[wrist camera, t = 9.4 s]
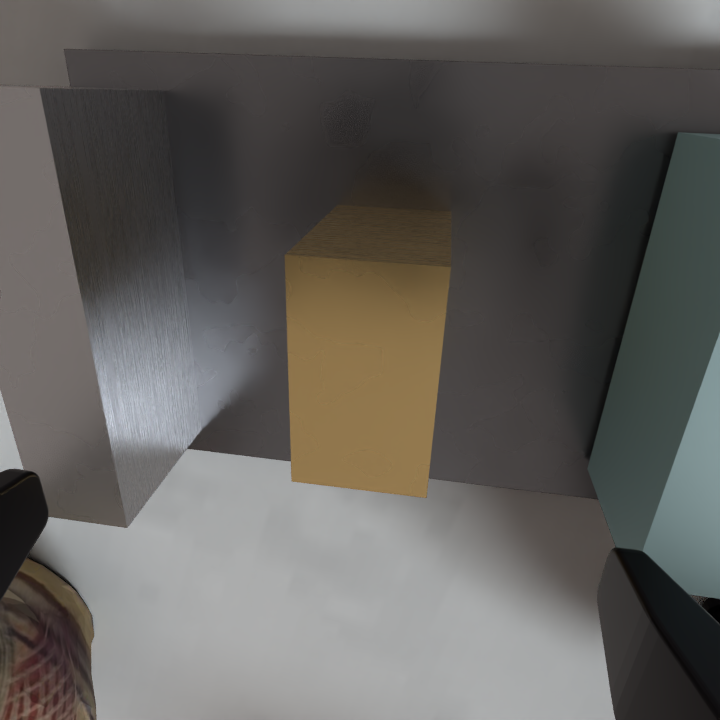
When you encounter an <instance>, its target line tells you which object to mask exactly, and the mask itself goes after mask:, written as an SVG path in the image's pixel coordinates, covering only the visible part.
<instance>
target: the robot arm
mask: <svg viewBox="0 0 720 720" xmlns="http://www.w3.org/2000/svg"><path fill="white" fill-rule="evenodd" d="M48 516H49V509H48V505H47V502H46V498H45V494H44V491H43V487H42V484H41V480H40V478H39V476H38V475H37V474H36V473H35V472H33V471H27V470H20V469H8V470H5V471H3V472H0V601H1V600H2V598H3V597H4V595H5V593H6V592H7V590H8V588H9V587H10V585H11V583H12V581H13V580H14V578H15V576H16V575H17V573H18V571H19V570H20V568H21V566H22V565H23V563H24V561H25V560H26V558H27V556H28V554H29V553H30V551H31V549H32V548H33V546H34V544H35V543H36V541H37V539H38V538H39V536H40V534H41V533H42V531H43V529H44V527H45V525H46V523H47V520H48ZM597 601H598V610H599V616H600V623H601V630H602V637H603V644H604V650H605V657H606V664H607V671H608V678H609V685H610V691H611V698H612V704H613V710H614V715H615V719H616V720H720V599H717V598H709V599H707V600H705V602H704V603H703V605H702V606H701V605H700V604H698V603H697V602H696V601H695V600H694V599H693V598H692V597H691V596H690V595H689V594H688V593H687V592H686V591H685V590H684V589H683V588H682V587H681V586H680V585H679V584H678V583H677V582H676V581H675V580H673V579H672V578H671V577H670V576H669V575H668V574H667V573H666V572H665V571H664V570H663V569H662V568H661V567H660V566H659V565H658V564H657V563H656V562H655V561H654V560H653V559H652V558H651V557H649V556H648V555H647V554H646V553H645V552H643V551H640V550H635V549H627V548H620V547H616V548H613V549H612V550H611V551H610V553H609V555H608V558H607V561H606V564H605V568H604V571H603V574H602V577H601V580H600V583H599V587H598V594H597Z"/></svg>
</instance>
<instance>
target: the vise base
mask: <svg viewBox="0 0 720 720" xmlns="http://www.w3.org/2000/svg"><path fill="white" fill-rule="evenodd" d="M64 52H65V58H66V63H67V69H68V75H69V80H70V86H71V87H61V86H21V85H0V390H1V393H2V397H3V400H4V403H5V407H6V410H7V414H8V417H9V421H10V424H11V428H12V431H13V434H14V438H15V441H16V445H17V448H18V452H19V455H20V458H21V462H22V465H23V469H24V470H27V471H33V472H35V473H36V474H37V475H38V476H39V478H40V480H41V484H42V487H43V491H44V494H45V498H46V502H47V505H48V509H49V516H48V517H54V518H61V519H68V520H75V521H82V522H89V523H96V524H103V525H110V526H117V527H124V528H128V526H129V525H130V524H131V522H132V521H133V520H134V518H135V517H136V516H137V514H138V513H139V512H140V510H141V509H142V508H143V506H144V505H145V504H146V502H147V501H148V500H149V498H150V497H151V496H152V494H153V493H154V492H155V490H156V489H157V488H158V487H159V485H160V484H161V483H162V481H163V480H164V479H165V477H166V476H167V475H168V473H169V472H170V471H171V469H172V468H173V467H174V465H175V464H176V463H177V461H178V460H179V459H180V457H181V456H182V455H183V453H184V452H185V451H186V449H194V450H203V451H211V452H219V453H227V454H235V455H243V456H251V457H259V458H268V459H276V460H284V461H291V444H290V412H289V380H288V347H287V315H286V283H285V254H286V253H287V252H288V251H289V250H291V249H292V248H293V247H294V246H295V245H296V244H297V243H298V242H299V241H300V240H301V239H302V238H303V237H304V236H305V235H306V234H307V233H308V232H310V231H311V230H312V229H313V228H314V227H315V226H316V225H317V224H318V223H319V222H320V221H321V220H322V219H323V218H324V217H325V216H326V215H327V214H329V213H330V212H331V211H332V210H333V209H334V208H335V207H336V206H337V205H346V206H363V207H380V208H397V209H414V210H431V211H448V212H451V271H450V280H449V290H448V299H447V309H446V318H445V327H444V337H443V346H442V356H441V365H440V375H439V384H438V393H437V403H436V412H435V422H434V431H433V440H432V450H431V459H430V469H429V478H430V479H438V480H446V481H455V482H463V483H471V484H479V485H487V486H495V487H503V488H511V489H520V490H528V491H536V492H544V493H552V494H560V495H568V496H576V497H585V498H593V499H598V497H597V494H596V491H595V488H594V486H593V483H592V480H591V477H590V475H589V472H588V469H587V468H588V465H589V461H590V457H591V453H592V450H593V446H594V442H595V439H596V435H597V431H598V427H599V424H600V420H601V416H602V413H603V409H604V405H605V401H606V398H607V394H608V390H609V387H610V383H611V379H612V376H613V372H614V368H615V364H616V361H617V357H618V353H619V350H620V346H621V342H622V338H623V335H624V331H625V327H626V324H627V320H628V316H629V312H630V309H631V305H632V301H633V298H634V294H635V290H636V287H637V283H638V279H639V275H640V272H641V268H642V264H643V261H644V257H645V253H646V249H647V246H648V242H649V238H650V235H651V231H652V227H653V223H654V220H655V216H656V212H657V209H658V205H659V201H660V198H661V194H662V190H663V186H664V183H665V179H666V175H667V172H668V168H669V164H670V160H671V157H672V153H673V149H674V146H675V142H676V138H677V134H678V132H681V133H704V134H720V70H714V69H683V68H651V67H619V66H588V65H556V64H524V63H492V62H461V61H429V60H397V59H366V58H334V57H302V56H270V55H239V54H207V53H175V52H144V51H112V50H80V49H64Z"/></svg>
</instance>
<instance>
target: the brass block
mask: <svg viewBox="0 0 720 720" xmlns="http://www.w3.org/2000/svg"><path fill="white" fill-rule="evenodd" d="M450 271H451V212H448V211H431V210H414V209H397V208H380V207H363V206H346V205H337V206H336V207H335V208H334V209H333V210H332V211H331V212H330V213H329V214H327V215H326V216H325V217H324V218H323V219H322V220H321V221H320V222H319V223H318V224H317V225H316V226H315V227H314V228H313V229H312V230H311V231H310V232H308V233H307V234H306V235H305V236H304V237H303V238H302V239H301V240H300V241H299V242H298V243H297V244H296V245H295V246H294V247H293V248H292V249H291V250H289V251H288V252H287V253H286V254H285V283H286V315H287V347H288V380H289V412H290V444H291V476H292V481H293V482H301V483H309V484H317V485H326V486H334V487H342V488H350V489H358V490H366V491H374V492H382V493H390V494H399V495H407V496H415V497H423V498H426V497H427V488H428V478H429V469H430V459H431V450H432V440H433V431H434V422H435V412H436V403H437V393H438V384H439V375H440V365H441V356H442V346H443V337H444V327H445V318H446V309H447V299H448V290H449V280H450Z"/></svg>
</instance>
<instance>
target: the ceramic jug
mask: <svg viewBox="0 0 720 720" xmlns="http://www.w3.org/2000/svg"><path fill="white" fill-rule="evenodd" d="M93 637H94V629H93V620H92V615H91V614H90V612H89V610H88V608H87V606H86V605H85V603H84V602H83V600H82V599H81V597H80V596H79V594H78V593H77V592H76V591H75V590H74V589H73V588H72V587H71V586H70V585H68V584H67V583H66V582H65V581H63V580H62V579H61V578H59V577H58V576H57V575H55V574H54V573H53V572H51V571H50V570H48V569H47V568H46V567H44V566H43V565H41V564H39V563H37V562H34V561H32V560H30V559H28V558H26V560H25V561H24V563H23V565H22V566H21V568H20V570H19V571H18V573H17V575H16V576H15V578H14V580H13V581H12V583H11V585H10V587H9V588H8V590H7V592H6V593H5V595H4V597H3V598H2V600H1V601H0V720H96V703H95V696H94V689H93V682H92V675H91V643H92V640H93Z"/></svg>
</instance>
